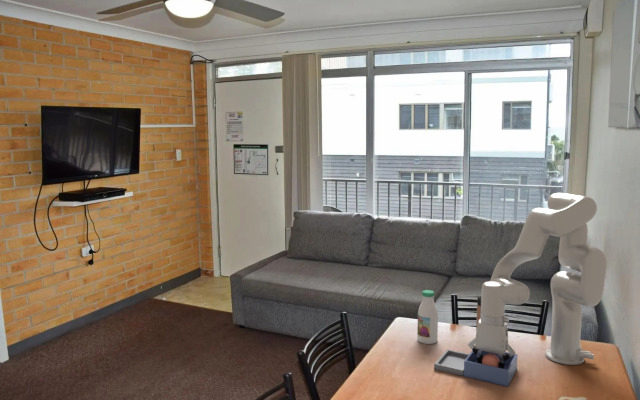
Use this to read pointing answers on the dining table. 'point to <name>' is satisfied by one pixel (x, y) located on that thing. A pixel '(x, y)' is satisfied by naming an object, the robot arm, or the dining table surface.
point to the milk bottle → (427, 319)
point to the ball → (491, 360)
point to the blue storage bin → (490, 370)
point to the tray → (451, 362)
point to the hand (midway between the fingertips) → (490, 369)
